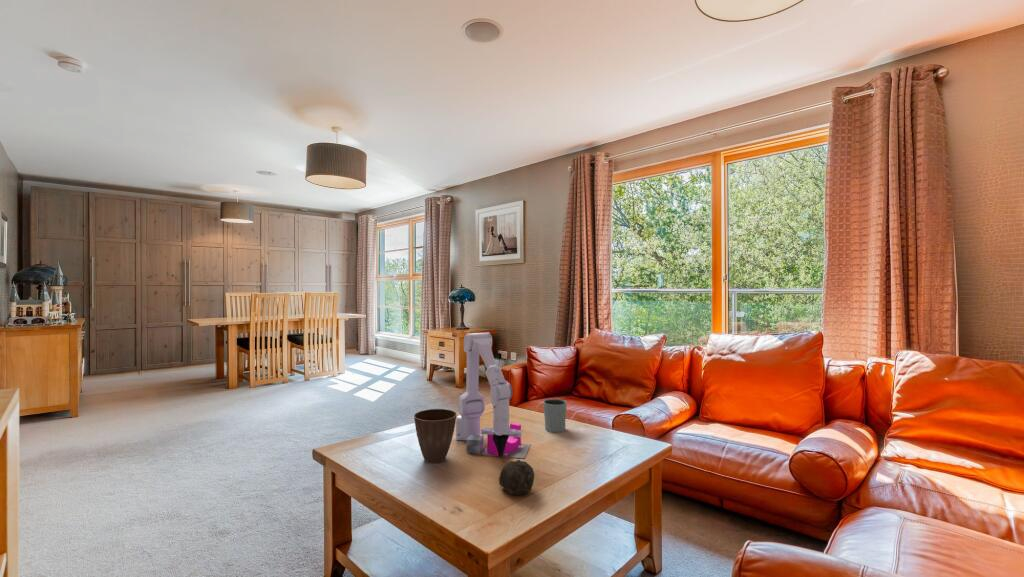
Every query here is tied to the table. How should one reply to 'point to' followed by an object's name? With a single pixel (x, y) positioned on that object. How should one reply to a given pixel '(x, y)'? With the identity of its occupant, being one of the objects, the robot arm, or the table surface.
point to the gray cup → (555, 415)
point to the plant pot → (435, 433)
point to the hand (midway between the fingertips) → (501, 455)
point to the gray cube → (474, 444)
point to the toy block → (510, 445)
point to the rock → (517, 477)
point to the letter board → (513, 452)
